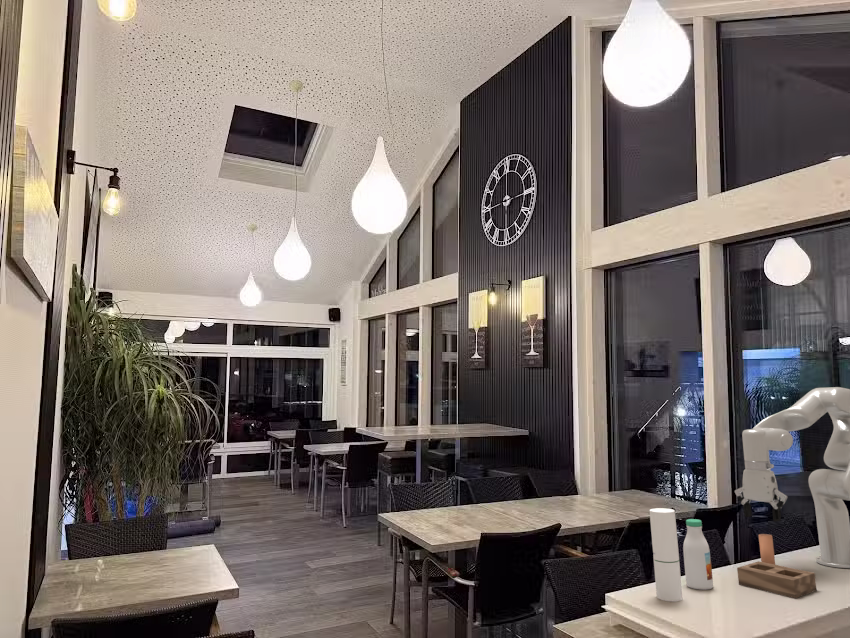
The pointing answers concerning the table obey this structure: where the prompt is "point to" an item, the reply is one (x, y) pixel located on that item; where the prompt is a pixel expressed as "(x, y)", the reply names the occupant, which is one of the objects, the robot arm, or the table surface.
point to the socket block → (777, 579)
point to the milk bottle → (697, 557)
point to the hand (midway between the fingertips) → (762, 518)
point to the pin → (766, 548)
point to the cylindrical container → (665, 554)
